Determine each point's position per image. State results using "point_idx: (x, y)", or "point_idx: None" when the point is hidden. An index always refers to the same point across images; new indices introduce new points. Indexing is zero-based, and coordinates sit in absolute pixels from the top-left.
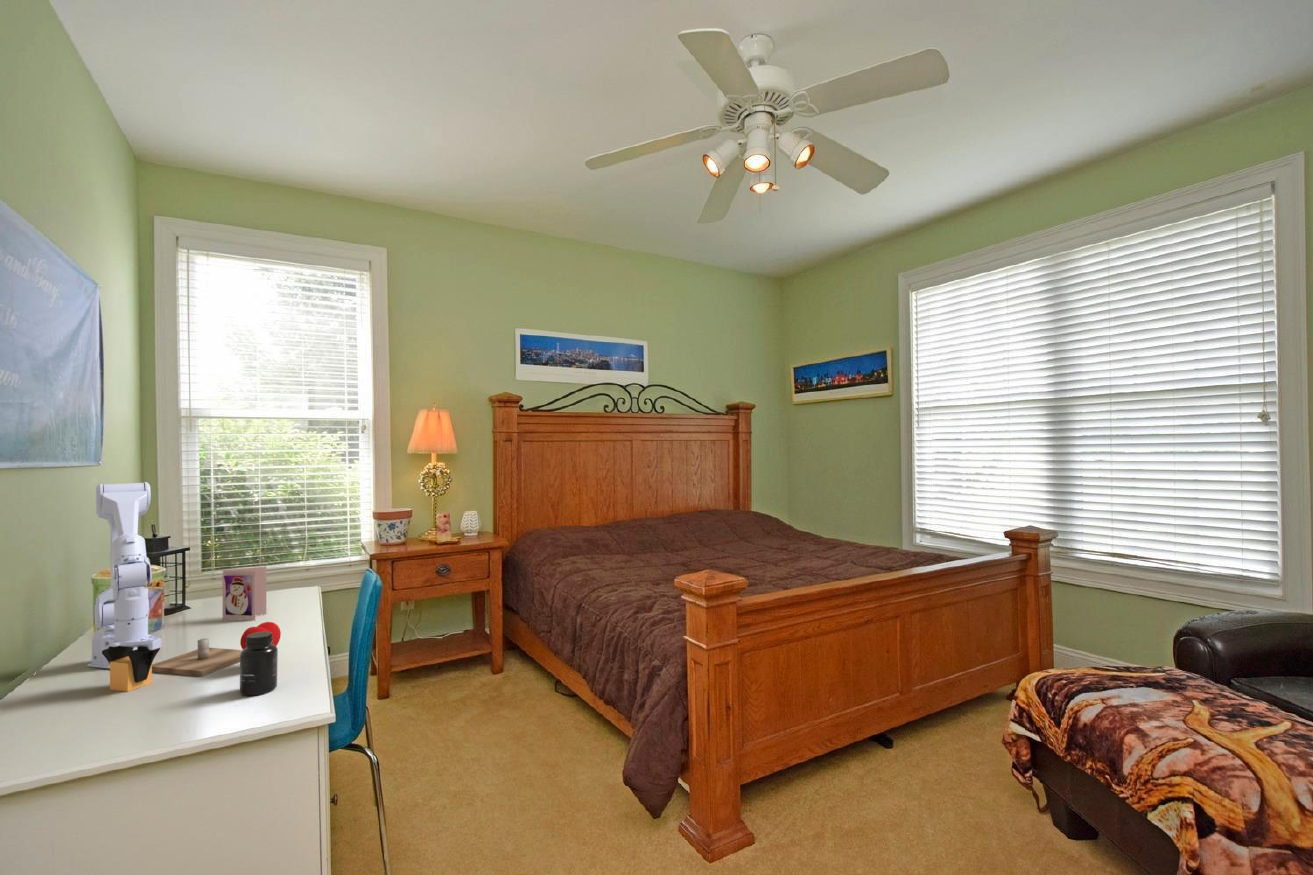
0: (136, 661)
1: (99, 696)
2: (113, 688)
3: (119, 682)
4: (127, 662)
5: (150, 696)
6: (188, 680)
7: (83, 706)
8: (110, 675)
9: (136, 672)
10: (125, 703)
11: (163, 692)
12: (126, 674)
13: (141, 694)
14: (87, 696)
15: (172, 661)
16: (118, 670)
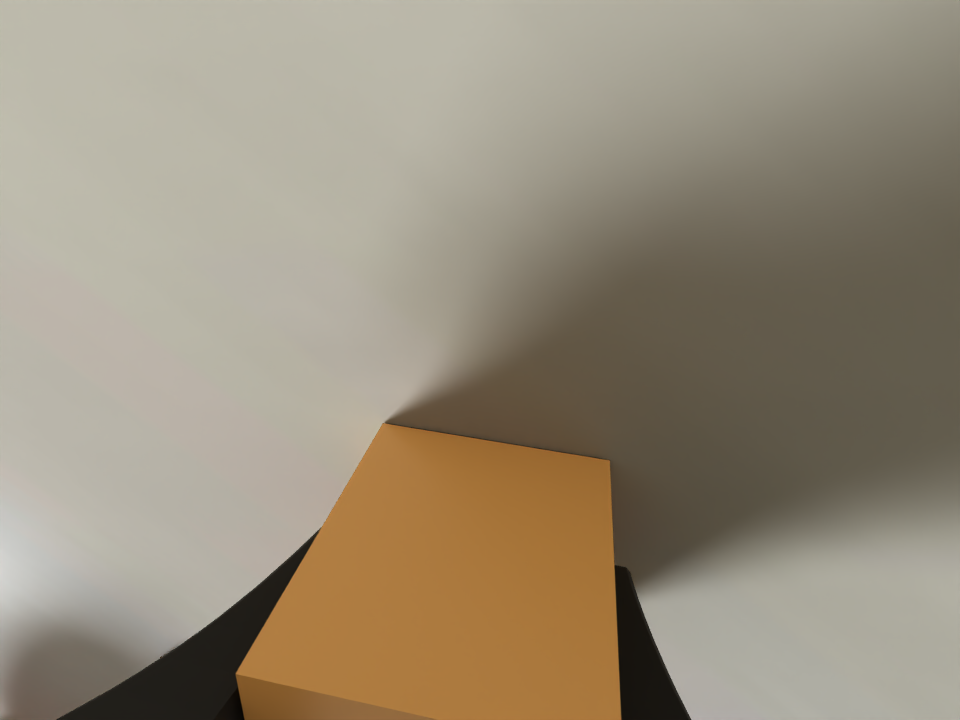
0: (101, 696)
1: (546, 306)
2: (563, 462)
3: (470, 492)
4: (296, 709)
5: (69, 336)
6: (170, 605)
7: (429, 17)
8: (605, 570)
9: (261, 582)
10: (81, 166)
11: (73, 415)
12: (336, 546)
13: (193, 371)
14: (690, 297)
15: None
16: (457, 605)
